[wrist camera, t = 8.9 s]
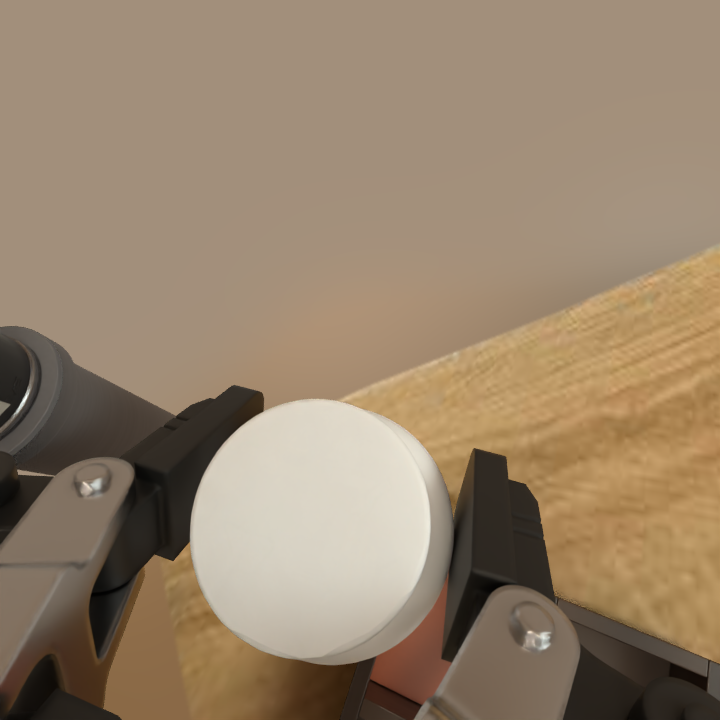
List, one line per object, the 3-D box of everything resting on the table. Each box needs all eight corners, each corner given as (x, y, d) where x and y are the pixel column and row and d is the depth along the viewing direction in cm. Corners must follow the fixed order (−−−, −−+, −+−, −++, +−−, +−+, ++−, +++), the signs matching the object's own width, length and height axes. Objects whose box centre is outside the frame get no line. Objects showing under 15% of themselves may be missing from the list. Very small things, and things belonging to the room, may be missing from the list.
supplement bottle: (267, 580, 15) (80, 644, 6) (315, 438, 17) (223, 332, 8) (412, 632, 14) (434, 799, 5) (446, 476, 16) (505, 401, 7)
